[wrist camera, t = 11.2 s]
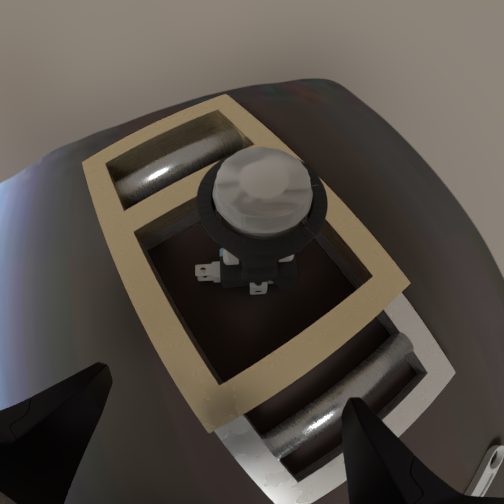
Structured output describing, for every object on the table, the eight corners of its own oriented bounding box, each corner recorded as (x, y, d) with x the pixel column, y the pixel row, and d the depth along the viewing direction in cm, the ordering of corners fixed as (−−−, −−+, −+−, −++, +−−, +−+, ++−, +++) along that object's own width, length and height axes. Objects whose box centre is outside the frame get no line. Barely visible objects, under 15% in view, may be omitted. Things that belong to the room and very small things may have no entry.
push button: (199, 314, 18) (150, 249, 9) (199, 242, 20) (167, 140, 11) (299, 308, 18) (347, 238, 9) (290, 237, 20) (317, 133, 11)
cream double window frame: (284, 507, 12) (290, 526, 9) (94, 182, 23) (81, 162, 20) (444, 374, 16) (468, 370, 13) (227, 116, 26) (225, 93, 24)
